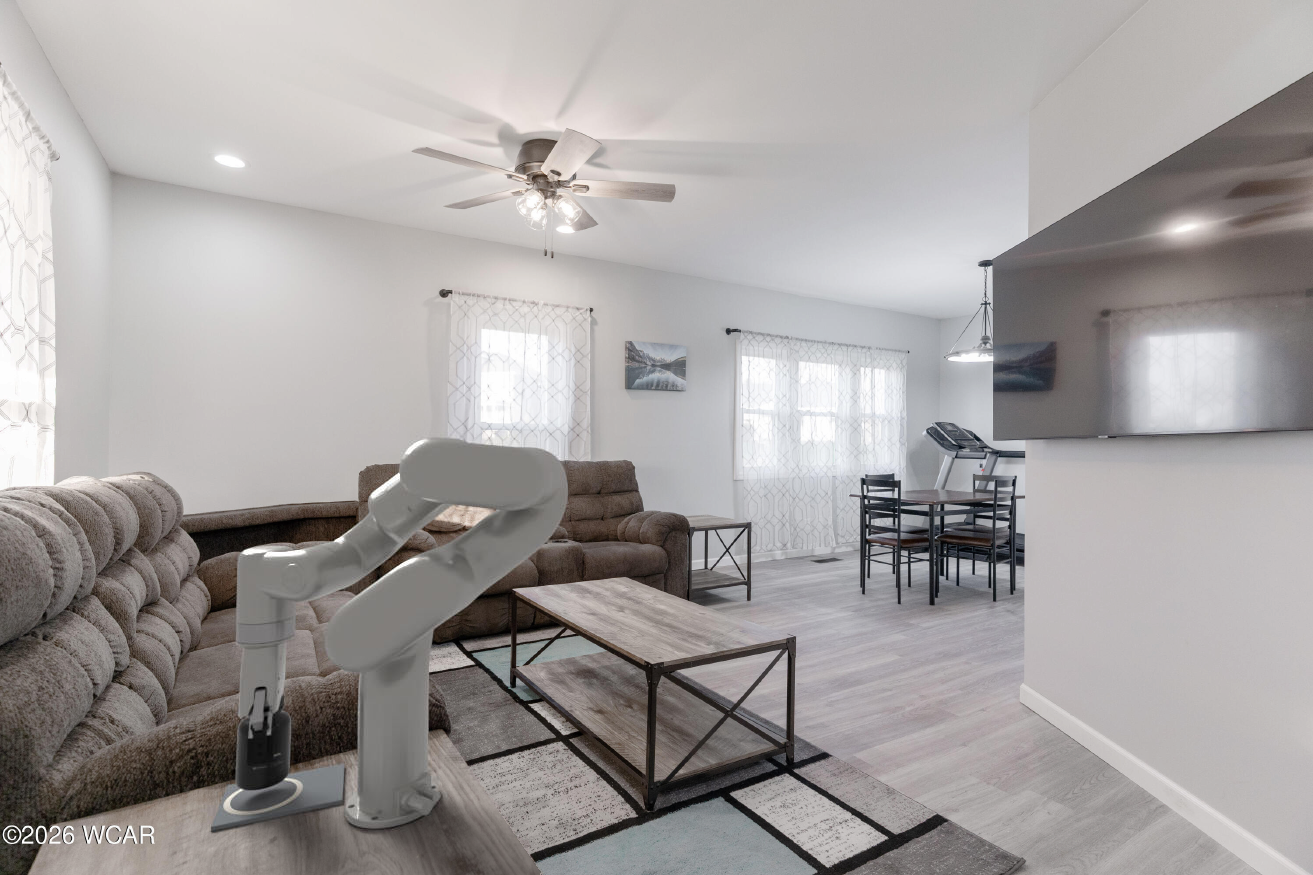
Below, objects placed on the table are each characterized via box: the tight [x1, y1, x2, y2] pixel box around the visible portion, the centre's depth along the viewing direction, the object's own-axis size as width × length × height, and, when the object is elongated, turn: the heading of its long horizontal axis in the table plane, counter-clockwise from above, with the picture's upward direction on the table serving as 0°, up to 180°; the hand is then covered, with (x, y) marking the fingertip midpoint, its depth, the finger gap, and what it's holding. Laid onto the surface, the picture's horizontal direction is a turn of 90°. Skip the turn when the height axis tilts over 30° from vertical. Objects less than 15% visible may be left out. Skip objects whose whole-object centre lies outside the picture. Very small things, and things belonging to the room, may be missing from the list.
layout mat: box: [210, 763, 345, 832], centre depth 95 cm, size 16×12×1 cm
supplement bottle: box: [235, 693, 292, 790], centre depth 94 cm, size 7×7×12 cm
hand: (264, 750), depth 94 cm, fingers closed on supplement bottle, 6 cm apart
